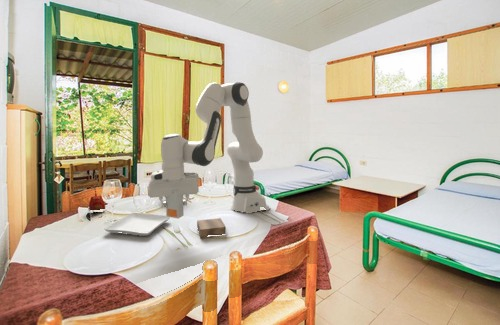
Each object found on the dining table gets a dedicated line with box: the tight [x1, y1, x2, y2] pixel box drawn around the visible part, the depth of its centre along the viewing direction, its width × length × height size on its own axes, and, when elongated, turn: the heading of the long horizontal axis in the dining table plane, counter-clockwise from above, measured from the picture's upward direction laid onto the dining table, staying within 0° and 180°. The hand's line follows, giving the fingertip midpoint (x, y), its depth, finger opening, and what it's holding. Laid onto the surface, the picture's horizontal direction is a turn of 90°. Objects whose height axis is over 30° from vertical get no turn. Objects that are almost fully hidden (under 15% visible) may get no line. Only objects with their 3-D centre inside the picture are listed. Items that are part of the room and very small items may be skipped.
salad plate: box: [103, 212, 171, 237], centre depth 120 cm, size 21×21×3 cm
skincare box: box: [165, 190, 185, 219], centre depth 109 cm, size 6×4×12 cm
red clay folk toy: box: [88, 184, 106, 211], centre depth 140 cm, size 8×7×15 cm
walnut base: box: [196, 217, 227, 239], centre depth 117 cm, size 11×11×4 cm
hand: (174, 205), depth 109 cm, fingers closed on skincare box, 7 cm apart
